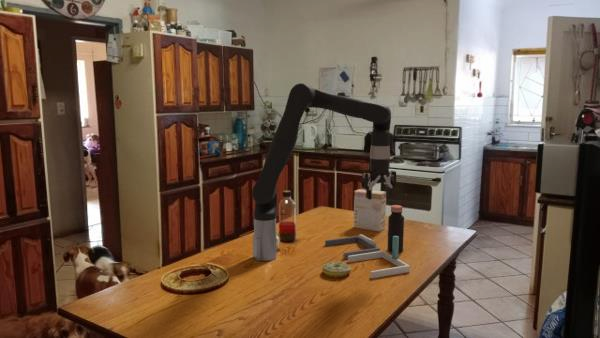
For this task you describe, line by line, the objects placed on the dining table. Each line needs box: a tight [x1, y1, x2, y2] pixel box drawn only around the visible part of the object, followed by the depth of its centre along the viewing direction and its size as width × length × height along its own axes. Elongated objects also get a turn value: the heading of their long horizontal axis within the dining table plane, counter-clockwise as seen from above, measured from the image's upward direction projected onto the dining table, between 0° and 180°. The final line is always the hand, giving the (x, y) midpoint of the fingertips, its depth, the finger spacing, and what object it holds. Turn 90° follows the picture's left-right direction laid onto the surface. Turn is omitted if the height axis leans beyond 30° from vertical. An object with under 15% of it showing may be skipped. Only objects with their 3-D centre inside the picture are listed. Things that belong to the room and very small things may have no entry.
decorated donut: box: [322, 261, 352, 279], centre depth 177 cm, size 10×11×4 cm
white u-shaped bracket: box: [347, 236, 411, 279], centre depth 183 cm, size 18×19×12 cm
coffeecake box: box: [353, 188, 387, 233], centre depth 236 cm, size 15×7×20 cm, turn 58°
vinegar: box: [387, 204, 405, 253], centre depth 202 cm, size 7×7×20 cm
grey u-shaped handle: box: [324, 233, 381, 260], centre depth 204 cm, size 18×19×4 cm
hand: (378, 198), depth 180 cm, fingers open, 8 cm apart
